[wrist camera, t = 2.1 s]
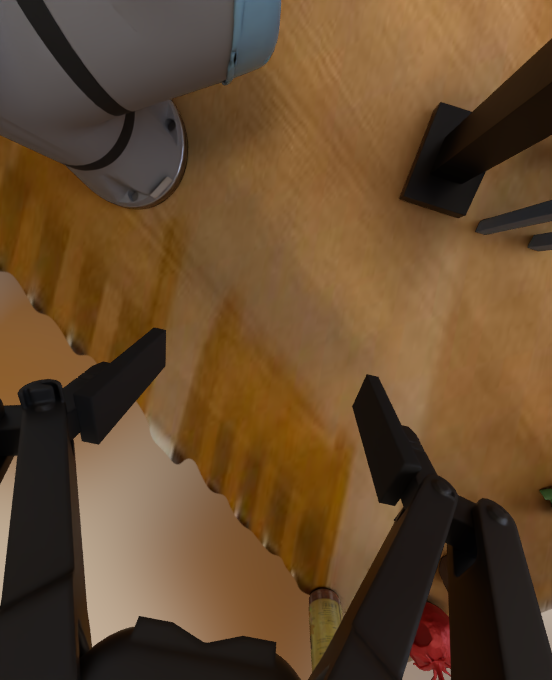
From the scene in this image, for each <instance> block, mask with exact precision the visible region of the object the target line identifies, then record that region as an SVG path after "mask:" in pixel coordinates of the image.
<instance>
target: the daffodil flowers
mask: <svg viewBox="0 0 552 680" xmlns="http://www.w3.org/2000/svg"><path fill="white" fill-rule="evenodd" d="M540 492H541V494H542V495H543V497H544V498H545V500H550V501H551V503H552V488H551V489H543V490H540ZM551 507H552V506H551Z"/></svg>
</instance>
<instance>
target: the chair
mask: <svg viewBox="0 0 552 680" xmlns="http://www.w3.org/2000/svg"><path fill="white" fill-rule="evenodd" d="M549 221H552V200H550V201H546V202H543V203H540V204H536V205H533V206H529V207H526V208H523V209H519V210H516V211H512V212H509V213H505V214H502V215H499V216H495V217H492V218H488V219H485V220H482V221H480V223H479V225H478V227H477V229H476V231H475V232H477V233H481V234H484V235H487V234H492V233H497V232H502V231H506V230H511V229H516V228H521V227H526V226H530V225H535V224H540V223H545V222H549ZM527 248H530V249H533V250H537V251H546V250H552V232H549V233H543V234H537V235H534V236H533V238H532V240H531V241H530V243H529V245H528V247H527Z"/></svg>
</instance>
